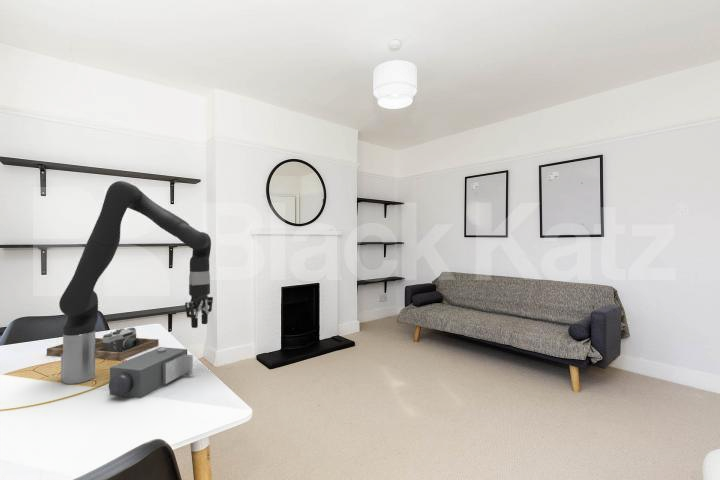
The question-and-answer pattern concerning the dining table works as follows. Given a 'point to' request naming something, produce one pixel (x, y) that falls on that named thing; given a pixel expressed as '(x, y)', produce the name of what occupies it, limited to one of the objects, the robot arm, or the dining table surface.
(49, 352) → the charger corral
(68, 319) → the robot arm
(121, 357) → the camera corral
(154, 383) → the camera housing
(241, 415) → the dining table surface
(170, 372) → the battery door
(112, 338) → the camera
